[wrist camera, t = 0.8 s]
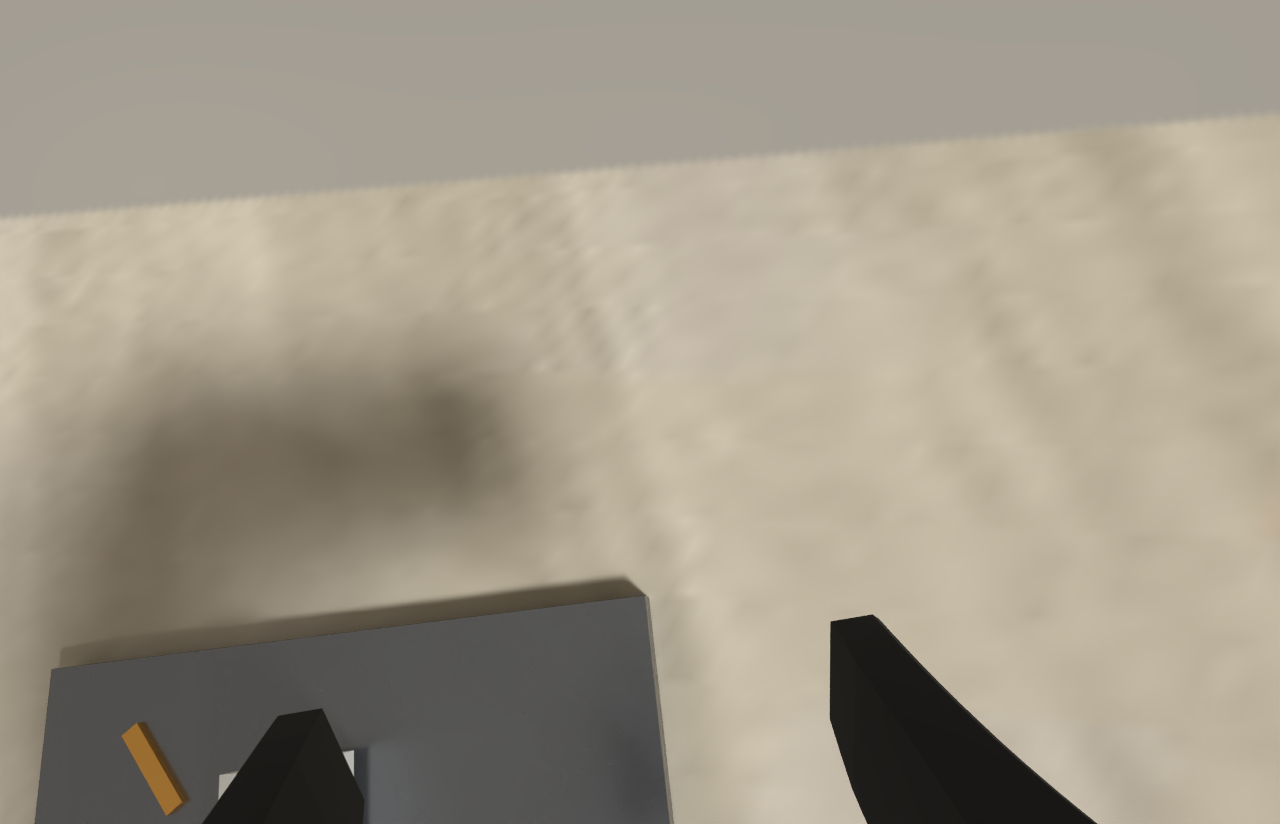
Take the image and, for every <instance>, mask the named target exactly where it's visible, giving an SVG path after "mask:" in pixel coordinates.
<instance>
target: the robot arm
mask: <svg viewBox="0 0 1280 824" xmlns="http://www.w3.org/2000/svg"><path fill="white" fill-rule="evenodd" d="M830 721H831V724H832V727H833V730H834V734H835V737H836V740H837V743H838V746H839V750H840V753H841V756H842V759H843V762H844V765H845V768H846V771H847V774H848V777H849V780H850V783H851V786H852V789H853V792H854V794H855V796H856V799H857V801H858V803H859V806H860V808H861V810H862V813H863V815H864V817H865V819H866V822H867V824H1097V823H1096V822H1095V821H1093V820H1092V819H1091V818H1090V817H1088V816H1087V815H1086V814H1085V813H1083V812H1082V811H1081V810H1080V809H1078V808H1077V807H1076V806H1075V805H1073V804H1072V803H1071V802H1070V801H1069V800H1067V799H1066V798H1065V797H1064V796H1062V795H1061V794H1060V793H1059V792H1058V791H1056V790H1055V789H1054V788H1053V787H1052V786H1051V785H1049V784H1048V783H1047V782H1046V781H1045V780H1044V779H1043V778H1041V777H1040V776H1039V775H1038V774H1037V773H1036V772H1034V771H1033V770H1032V769H1031V768H1030V767H1029V766H1027V765H1026V764H1025V763H1024V762H1023V761H1022V760H1021V759H1019V758H1018V757H1017V756H1016V755H1015V754H1014V753H1013V752H1012V751H1010V750H1009V749H1008V748H1007V747H1006V746H1005V745H1004V744H1003V743H1002V742H1000V741H999V740H998V739H997V738H996V737H995V736H994V735H993V734H992V733H991V732H990V731H989V730H988V729H987V728H986V727H985V726H983V725H982V724H981V723H980V722H979V721H978V720H977V719H976V718H975V717H974V716H973V715H972V714H971V713H970V712H969V711H968V710H966V709H965V708H964V707H963V706H962V705H961V704H960V703H959V702H958V701H957V700H956V699H955V698H954V697H953V696H952V695H951V694H950V693H949V692H948V691H947V690H946V689H945V688H944V687H943V686H942V685H941V684H940V683H939V682H938V681H937V680H936V679H935V678H934V677H933V676H932V675H931V674H930V673H929V672H928V671H927V670H926V669H925V668H924V667H923V666H922V665H921V664H920V663H919V661H918V660H917V659H916V658H915V657H914V656H913V655H912V654H911V653H910V652H909V651H908V650H907V649H906V648H905V647H904V646H903V645H902V644H901V642H900V641H899V640H898V639H897V638H896V637H895V636H894V635H893V634H892V633H891V632H890V630H889V629H888V628H887V627H886V626H885V625H884V624H883V623H882V622H881V621H880V619H878V618H877V617H875V616H874V615H867V616H861V617H855V618H849V619H843V620H837V621H831V631H830ZM364 802H365V800H364V798H363V795H362V793H361V791H360V789H359V787H358V785H357V782H356V780H355V778H354V776H353V774H352V772H351V769H350V767H349V765H348V763H347V761H346V759H345V756H344V754H343V752H342V750H341V748H340V746H339V743H338V741H337V739H336V737H335V735H334V733H333V730H332V728H331V726H330V724H329V722H328V719H327V717H326V715H325V713H324V711H323V709H322V708H320V709H314V710H309V711H303V712H297V713H291V714H285V715H279V716H278V717H277V718H276V719H275V720H274V722H273V723H272V724H271V726H270V727H269V729H268V730H267V731H266V733H265V734H264V736H263V737H262V738H261V740H260V741H259V743H258V744H257V746H256V747H255V748H254V750H253V751H252V753H251V754H250V756H249V757H248V758H247V760H246V761H245V763H244V764H243V766H242V767H241V768H240V770H239V771H238V773H237V774H236V776H235V777H234V779H233V780H232V781H231V783H230V784H229V786H228V787H227V789H226V790H225V791H224V793H223V794H222V796H221V797H220V799H219V800H218V801H217V803H216V804H215V806H214V807H213V808H212V810H211V811H210V813H209V814H208V816H207V817H206V818H205V820H204V821H203V823H202V824H363V813H364Z"/></svg>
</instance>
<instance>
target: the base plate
mask: <svg viewBox="0 0 1280 824" xmlns="http://www.w3.org/2000/svg"><path fill="white" fill-rule="evenodd" d="M320 708H322V709H323V711H324V713H325V715H326V717H327V719H328V722H329V724H330V726H331V728H332V730H333V733H334V735H335V737H336V739H337V741H338V743H339V746H340V748H341V750H342V751H352V750H354V778H355V780H356V782H357V785H358V787H359V789H360V791H361V793H362V795H363V798H364V800H365V802H364V813H363V824H674V821H673V812H672V803H671V794H670V785H669V776H668V767H667V758H666V749H665V740H664V731H663V722H662V713H661V704H660V695H659V686H658V677H657V668H656V659H655V650H654V641H653V632H652V623H651V614H650V605H649V598H648V597H647V596H645V595H644V596H636V597H628V598H620V599H612V600H604V601H596V602H588V603H580V604H572V605H564V606H556V607H548V608H540V609H532V610H524V611H516V612H508V613H500V614H492V615H484V616H475V617H467V618H459V619H451V620H443V621H435V622H427V623H419V624H411V625H403V626H395V627H387V628H379V629H371V630H363V631H355V632H347V633H339V634H331V635H323V636H315V637H307V638H298V639H290V640H282V641H274V642H266V643H258V644H250V645H242V646H234V647H226V648H218V649H210V650H202V651H194V652H186V653H178V654H170V655H162V656H154V657H146V658H138V659H129V660H121V661H113V662H105V663H97V664H89V665H81V666H73V667H65V668H57V669H52V671H51V680H50V690H49V699H48V708H47V717H46V726H45V735H44V744H43V753H42V762H41V771H40V780H39V789H38V798H37V807H36V816H35V824H202V823H203V821H204V820H205V818H206V817H207V816H208V814H209V813H210V811H211V810H212V808H213V807H214V806H215V804H216V803H217V801H218V797H219V776H220V775H222V774H226V773H231V772H235V771H239V770H240V768H241V767H242V766H243V764H244V763H245V761H246V760H247V758H248V757H249V756H250V754H251V753H252V751H253V750H254V748H255V747H256V746H257V744H258V743H259V741H260V740H261V738H262V737H263V736H264V734H265V733H266V731H267V730H268V729H269V727H270V726H271V724H272V723H273V722H274V720H275V719H276V718H277V717H278V716H279V715H285V714H291V713H297V712H303V711H309V710H314V709H320Z"/></svg>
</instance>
